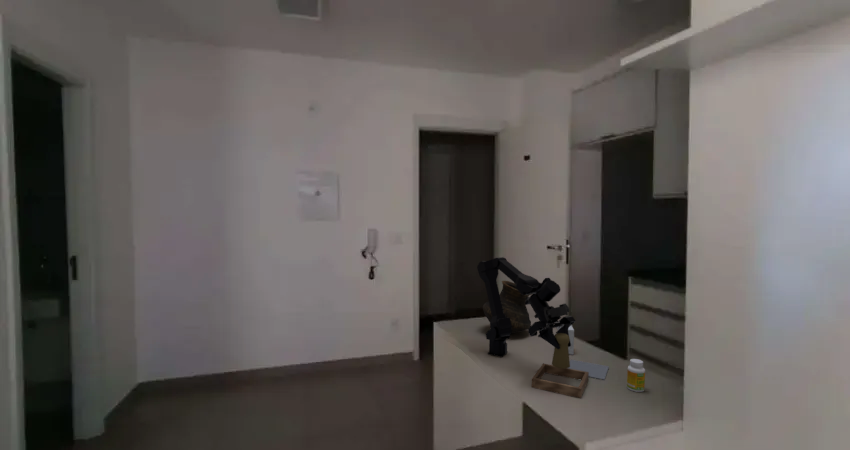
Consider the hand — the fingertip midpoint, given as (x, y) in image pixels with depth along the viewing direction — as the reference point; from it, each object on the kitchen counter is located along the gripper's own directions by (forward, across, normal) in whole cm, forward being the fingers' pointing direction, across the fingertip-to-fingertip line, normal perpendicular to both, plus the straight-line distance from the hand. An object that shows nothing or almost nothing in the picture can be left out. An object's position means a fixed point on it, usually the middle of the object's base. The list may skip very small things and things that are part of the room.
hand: (564, 347), depth 146 cm
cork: (+4, 0, +6) cm, 7 cm away
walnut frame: (+8, 0, +10) cm, 13 cm away
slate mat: (+6, +19, +13) cm, 23 cm away
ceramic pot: (-29, +23, +49) cm, 61 cm away
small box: (-6, +28, +26) cm, 39 cm away
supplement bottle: (+20, +19, -1) cm, 27 cm away
